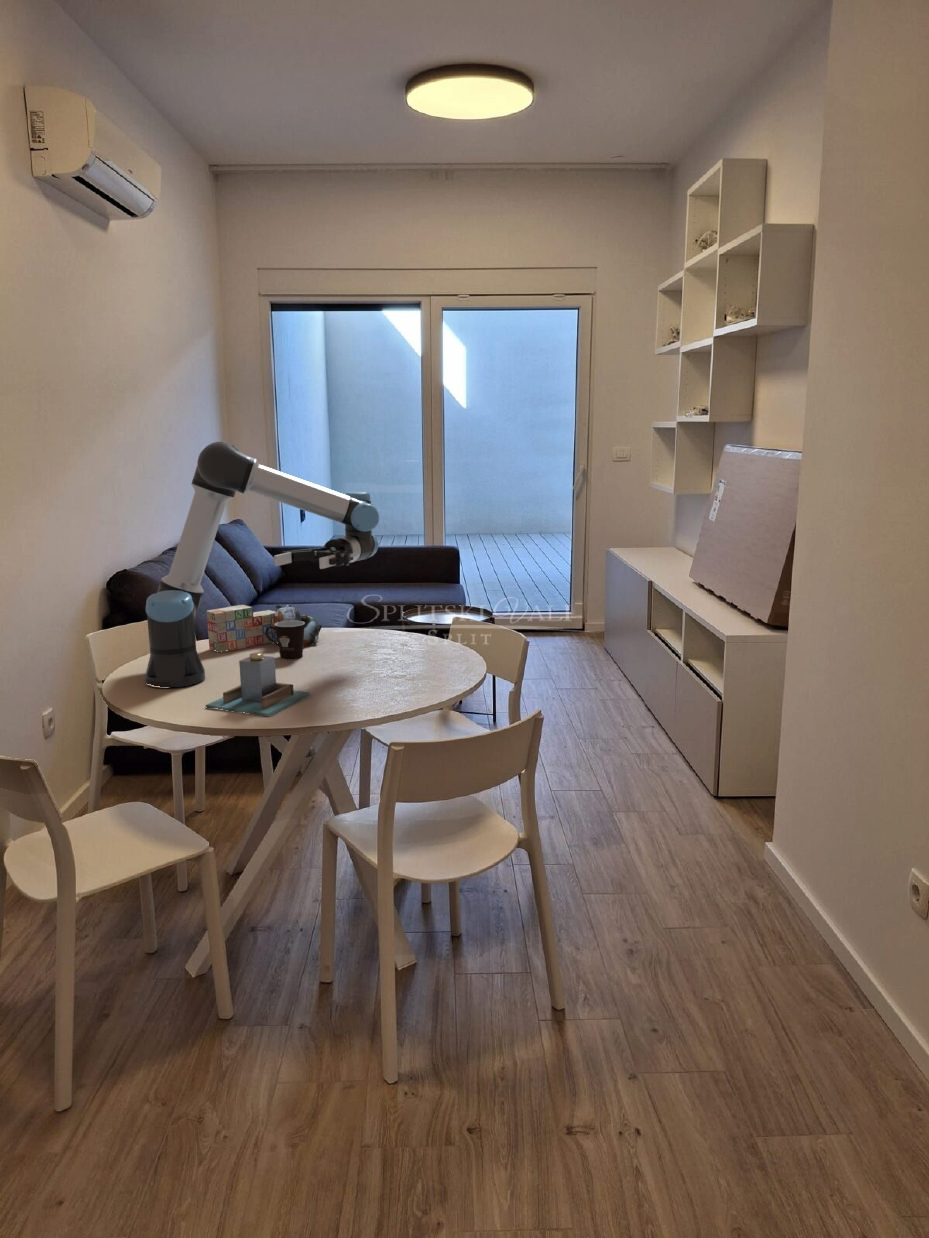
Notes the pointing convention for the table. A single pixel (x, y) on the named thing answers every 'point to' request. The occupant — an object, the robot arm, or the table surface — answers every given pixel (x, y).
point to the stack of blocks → (238, 627)
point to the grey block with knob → (257, 677)
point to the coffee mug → (289, 638)
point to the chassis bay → (268, 704)
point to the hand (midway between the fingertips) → (297, 562)
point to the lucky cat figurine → (292, 614)
